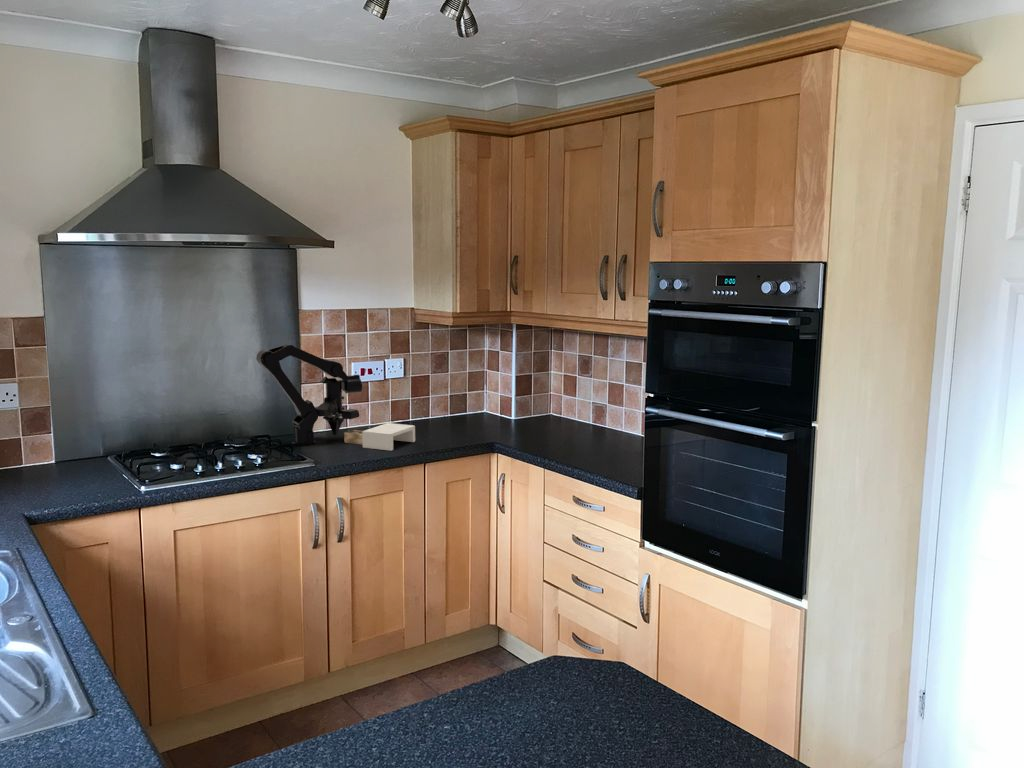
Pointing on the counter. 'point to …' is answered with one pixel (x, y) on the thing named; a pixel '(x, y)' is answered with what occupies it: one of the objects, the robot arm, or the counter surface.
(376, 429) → the shelf
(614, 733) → the counter surface
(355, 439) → the brown wooden box
